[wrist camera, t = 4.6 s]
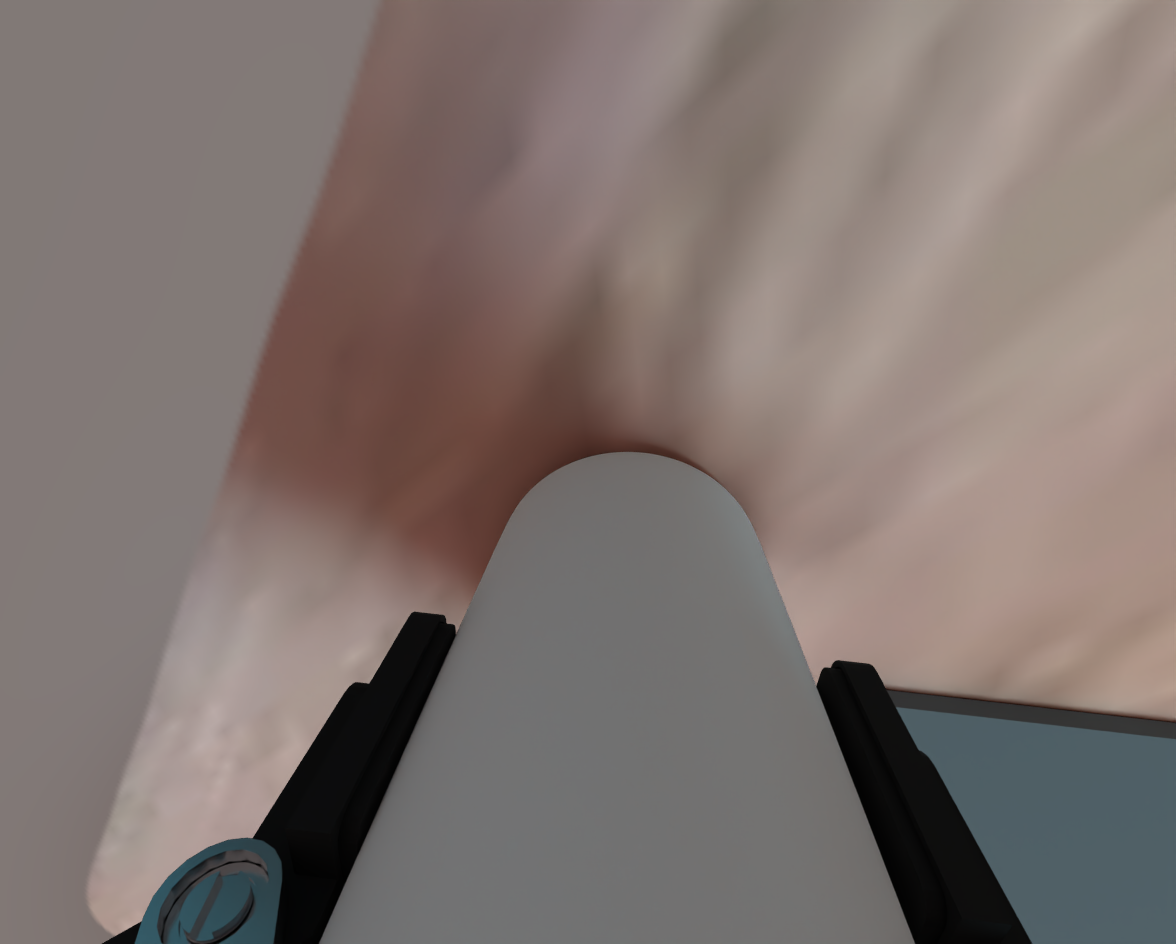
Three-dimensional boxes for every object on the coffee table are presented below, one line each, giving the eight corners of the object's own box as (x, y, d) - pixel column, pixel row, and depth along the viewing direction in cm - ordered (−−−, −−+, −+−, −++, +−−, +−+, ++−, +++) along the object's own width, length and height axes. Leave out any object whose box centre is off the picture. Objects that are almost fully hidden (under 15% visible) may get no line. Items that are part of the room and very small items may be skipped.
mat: (831, 683, 15) (838, 700, 15) (1448, 754, 15) (1480, 774, 14) (728, 999, 22) (731, 1019, 21) (1156, 1058, 21) (1170, 1080, 21)
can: (523, 665, 16) (269, 1630, 5) (482, 453, 13) (-217, 1461, 2) (757, 659, 15) (1066, 1782, 4) (760, 434, 13) (1550, 1765, 2)
